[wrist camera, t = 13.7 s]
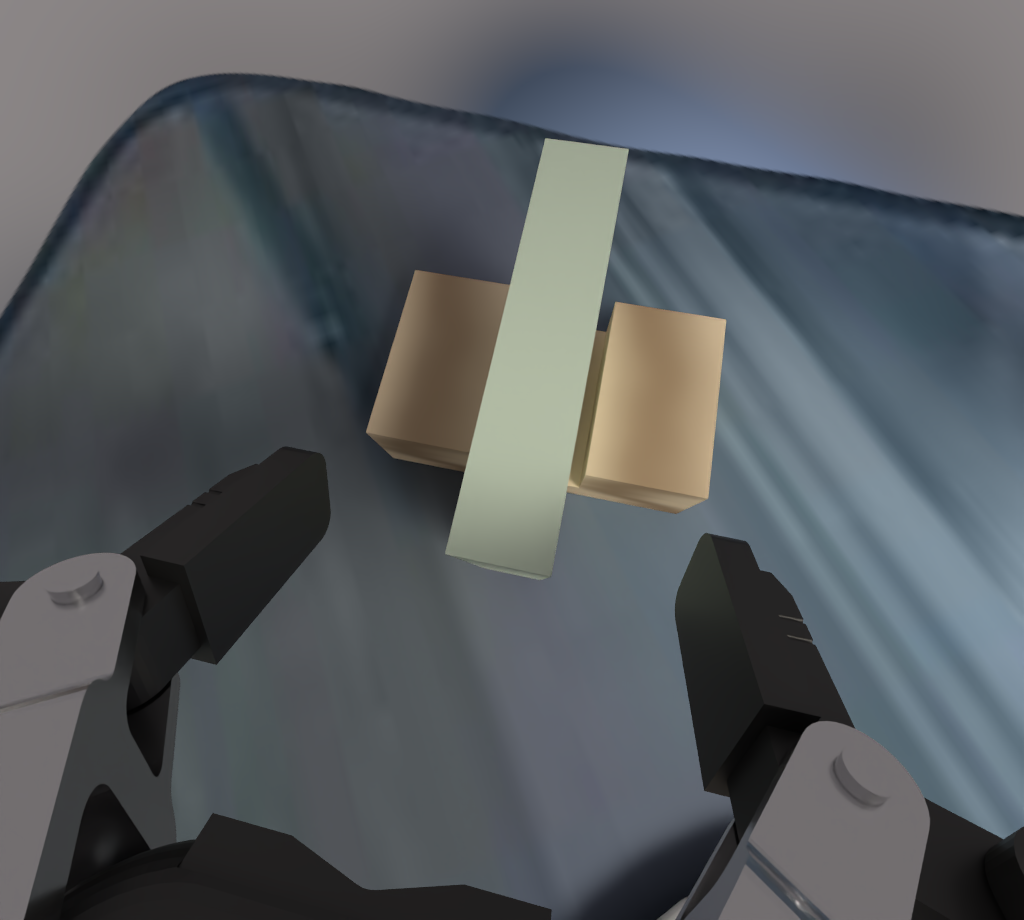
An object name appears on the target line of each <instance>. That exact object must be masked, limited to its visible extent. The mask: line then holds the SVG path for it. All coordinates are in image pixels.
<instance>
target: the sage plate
mask: <svg viewBox="0 0 1024 920" xmlns="http://www.w3.org/2000/svg"><path fill="white" fill-rule="evenodd" d="M628 151H629V149H624V148H616V147H608V146H601V145H593V144H585V143H578V142H570V141H562V140H555V139H547V138H545V142H544V147H543V151H542V155H541V159H540V163H539V167H538V171H537V176H536V180H535V184H534V188H533V192H532V196H531V200H530V204H529V209H528V213H527V217H526V221H525V225H524V229H523V233H522V238H521V242H520V246H519V250H518V254H517V258H516V262H515V267H514V271H513V275H512V279H511V283H510V287H509V291H508V295H507V300H506V304H505V308H504V312H503V316H502V320H501V324H500V329H499V333H498V337H497V341H496V345H495V349H494V353H493V357H492V362H491V366H490V370H489V374H488V378H487V382H486V386H485V391H484V395H483V399H482V403H481V407H480V411H479V415H478V420H477V424H476V428H475V432H474V436H473V440H472V444H471V448H470V453H469V457H468V461H467V465H466V469H465V473H464V477H463V482H462V486H461V490H460V494H459V498H458V502H457V506H456V511H455V515H454V519H453V523H452V527H451V531H450V535H449V539H448V544H447V548H446V552H445V554H446V555H449V556H452V557H455V558H458V559H461V560H463V561H466V562H469V563H472V564H475V565H477V566H480V567H483V568H486V569H491V570H495V571H500V572H504V573H509V574H514V575H518V576H523V577H528V578H532V579H537V580H542V579H545V578H548V577H551V574H552V569H553V563H554V558H555V552H556V547H557V541H558V536H559V530H560V525H561V519H562V514H563V508H564V503H565V497H566V492H567V486H568V481H569V475H570V470H571V464H572V459H573V453H574V448H575V442H576V437H577V431H578V426H579V420H580V415H581V409H582V404H583V398H584V393H585V387H586V382H587V376H588V371H589V365H590V360H591V354H592V349H593V343H594V338H595V332H596V327H597V321H598V316H599V310H600V305H601V299H602V294H603V288H604V283H605V277H606V272H607V267H608V261H609V256H610V250H611V245H612V239H613V234H614V228H615V223H616V217H617V212H618V206H619V201H620V195H621V190H622V184H623V179H624V173H625V168H626V162H627V157H628Z"/></svg>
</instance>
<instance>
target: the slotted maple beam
mask: <svg viewBox="0 0 1024 920" xmlns="http://www.w3.org/2000/svg"><path fill="white" fill-rule="evenodd" d="M509 287H510V285H507V284H500V283H494V282H488V281H482V280H475V279H469V278H463V277H457V276H450V275H444V274H438V273H432V272H425V271H419V270H415V273H414V276H413V280H412V283H411V286H410V289H409V293H408V296H407V299H406V302H405V306H404V309H403V312H402V316H401V319H400V322H399V325H398V329H397V332H396V335H395V339H394V342H393V345H392V348H391V352H390V355H389V358H388V361H387V365H386V368H385V371H384V375H383V378H382V381H381V384H380V388H379V391H378V394H377V398H376V401H375V404H374V407H373V411H372V414H371V417H370V420H369V424H368V427H367V430H366V433H367V434H368V435H369V436H370V437H371V438H372V439H373V440H375V441H376V442H377V443H378V444H379V445H380V446H381V447H382V448H383V449H384V450H385V451H386V452H387V453H389V454H390V455H391V456H392V457H393V458H396V459H401V460H406V461H411V462H416V463H421V464H426V465H432V466H437V467H442V468H447V469H452V470H457V471H462V472H465V469H466V465H467V461H468V457H469V453H470V448H471V444H472V440H473V436H474V432H475V428H476V424H477V420H478V415H479V411H480V407H481V403H482V399H483V395H484V391H485V386H486V382H487V378H488V374H489V370H490V366H491V362H492V357H493V353H494V349H495V345H496V341H497V337H498V333H499V329H500V324H501V320H502V316H503V312H504V308H505V304H506V300H507V295H508V291H509ZM725 327H726V320H725V319H719V318H713V317H707V316H700V315H694V314H688V313H682V312H675V311H669V310H663V309H657V308H650V307H644V306H638V305H632V304H625V303H619V302H615V305H614V308H613V312H612V315H611V318H610V321H609V325H608V328H607V331H606V332H604V331H598V330H596V332H595V338H594V343H593V349H592V354H591V360H590V365H589V371H588V376H587V382H586V387H585V393H584V398H583V404H582V409H581V415H580V420H579V426H578V431H577V437H576V442H575V448H574V453H573V459H572V464H571V470H570V475H569V481H568V486H567V492H568V493H573V494H578V495H583V496H588V497H593V498H598V499H604V500H609V501H614V502H619V503H624V504H629V505H634V506H639V507H644V508H649V509H654V510H659V511H664V512H669V513H674V514H677V513H679V512H681V511H683V510H685V509H687V508H689V507H691V506H694V505H696V504H698V503H700V502H702V501H704V500H706V499H708V494H709V484H710V474H711V464H712V455H713V445H714V435H715V425H716V415H717V406H718V396H719V386H720V376H721V366H722V357H723V347H724V337H725Z"/></svg>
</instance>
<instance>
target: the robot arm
mask: <svg viewBox="0 0 1024 920" xmlns="http://www.w3.org/2000/svg"><path fill="white" fill-rule="evenodd" d="M330 514H331V511H330V500H329V490H328V480H327V470H326V462H325V458H324V457H323V455H322V454H320V453H316V452H311V451H306V450H301V449H296V448H292V447H282V448H280V449H279V450H277V451H276V452H275V453H273V454H272V455H271V456H270V457H268V458H267V459H266V460H264V461H263V462H262V463H260V464H259V465H258V464H254V465H252V466H249V467H247V468H244V469H242V470H240V471H237V472H235V473H232V474H230V475H228V476H227V477H225V478H224V479H223V480H221V481H220V482H219V483H217V484H216V485H214V486H213V487H212V488H210V489H209V492H208V493H206V492H205V493H203V494H202V495H201V496H199V497H198V498H197V499H195V500H194V501H193V502H192V505H187V506H186V507H184V508H183V509H182V510H180V511H179V512H177V513H176V514H175V515H173V516H172V517H171V518H169V519H168V520H166V521H165V522H164V523H162V524H161V525H160V526H158V527H157V528H155V529H154V530H153V531H151V532H150V533H149V534H147V535H146V536H144V537H143V538H142V539H140V540H139V541H138V542H136V543H135V544H133V545H132V546H131V547H129V548H128V549H127V550H125V551H124V552H123V553H121V554H116V553H94V554H87V555H82V556H78V557H74V558H71V559H67V560H64V561H62V562H59V563H57V564H54V565H52V566H50V567H48V568H46V569H44V570H42V571H40V572H39V573H37V574H35V575H34V576H32V577H31V578H29V579H28V580H27V581H16V582H0V920H551V909H548V908H544V907H541V906H537V905H534V904H530V903H527V902H523V901H520V900H516V899H513V898H509V897H506V896H502V895H499V894H495V893H492V892H488V891H485V890H481V889H478V888H474V887H471V886H467V885H450V886H434V887H419V888H404V889H388V890H368V889H364V888H362V887H360V886H358V885H357V884H356V883H354V882H353V881H352V880H350V879H349V878H348V877H346V876H345V875H344V874H342V873H341V872H340V871H338V870H337V869H336V868H334V867H333V866H332V865H330V864H329V863H328V862H326V861H325V860H324V859H322V858H321V857H320V856H318V855H317V854H316V853H314V852H313V851H312V850H310V849H309V848H308V847H306V846H305V845H304V844H302V843H301V842H300V841H298V840H297V839H296V838H294V837H293V836H291V835H288V834H284V833H281V832H277V831H274V830H270V829H267V828H263V827H260V826H256V825H253V824H249V823H246V822H242V821H239V820H235V819H232V818H228V817H225V816H221V815H218V814H214V813H213V814H212V815H211V817H210V818H209V820H208V822H207V823H206V825H205V826H204V828H203V829H202V831H201V832H200V834H199V836H198V837H197V839H196V840H188V841H183V842H178V843H176V824H175V816H174V811H173V806H172V798H171V779H172V768H173V758H174V747H175V736H176V725H177V715H178V704H179V693H180V676H179V673H178V671H179V670H180V669H181V668H182V667H183V666H184V665H185V663H186V662H187V661H188V660H189V659H190V658H192V659H196V660H200V661H204V662H208V663H212V664H216V665H217V664H218V662H219V661H220V660H221V659H222V658H223V656H224V655H225V654H226V653H227V652H228V650H229V649H230V648H231V647H232V646H233V645H234V643H235V642H236V641H237V640H238V639H239V637H240V636H241V635H242V634H243V633H244V631H245V630H246V629H247V628H248V627H249V625H250V624H251V623H252V622H253V621H254V619H255V618H256V617H257V616H258V615H259V613H260V612H261V611H262V610H263V609H264V607H265V606H266V605H267V604H268V603H269V602H270V600H271V599H272V598H273V597H274V596H275V594H276V593H277V592H278V591H279V590H280V588H281V587H282V586H283V585H284V584H285V582H286V581H287V580H288V579H289V578H290V576H291V575H292V574H293V573H294V572H295V570H296V569H297V568H298V567H299V566H300V565H301V563H302V562H303V561H304V560H305V559H306V557H307V556H308V555H309V554H310V553H311V551H312V550H313V549H314V548H315V547H316V545H317V544H318V543H319V542H320V541H321V539H322V538H323V536H324V535H325V533H326V531H327V528H328V525H329V521H330ZM675 620H676V626H677V632H678V638H679V644H680V650H681V655H682V661H683V667H684V673H685V679H686V685H687V691H688V697H689V703H690V709H691V715H692V721H693V727H694V733H695V738H696V744H697V750H698V756H699V762H700V768H701V774H702V780H703V786H704V791H707V792H711V793H715V794H719V795H723V796H727V797H730V799H731V804H732V809H733V814H734V819H733V820H732V821H731V823H730V824H729V825H728V827H727V829H726V830H725V832H724V834H723V836H722V837H721V839H720V841H719V843H718V845H717V846H716V848H715V850H714V852H713V853H712V855H711V857H710V859H709V861H708V862H707V864H706V866H705V868H704V870H703V871H702V873H701V875H700V877H699V878H698V880H697V882H696V884H695V886H694V887H693V889H692V891H691V893H690V894H689V896H688V898H687V900H686V902H685V903H684V905H683V907H682V909H681V910H680V912H679V914H678V916H677V918H676V919H675V920H1024V827H1022V828H1020V829H1019V830H1017V831H1016V832H1014V833H1013V834H1011V835H1010V836H1008V837H1007V838H1005V839H1002V838H1000V837H998V836H996V835H994V834H992V833H990V832H988V831H987V830H985V829H983V828H981V827H979V826H977V825H975V824H973V823H971V822H969V821H967V820H965V819H964V818H962V817H960V816H958V815H956V814H954V813H952V812H950V811H948V810H946V809H944V808H942V807H941V806H939V805H937V804H935V803H933V802H931V801H929V800H928V799H926V798H924V797H923V795H922V793H921V791H920V789H919V787H918V786H917V784H916V783H915V781H914V779H913V778H912V777H911V775H910V774H909V773H908V771H907V770H906V769H905V768H904V767H903V765H902V764H901V763H900V762H899V761H898V760H897V759H896V758H895V757H894V756H893V755H892V754H891V753H890V752H889V751H887V750H886V749H885V748H884V747H883V746H881V745H880V744H879V743H877V742H876V741H875V740H873V739H872V738H870V737H869V736H867V735H866V734H864V733H862V732H860V731H858V730H856V729H855V727H854V725H853V723H852V721H851V719H850V717H849V715H848V713H847V710H846V708H845V706H844V704H843V702H842V700H841V698H840V696H839V694H838V691H837V689H836V687H835V685H834V683H833V681H832V679H831V677H830V675H829V672H828V670H827V668H826V666H825V664H824V662H823V660H822V658H821V656H820V654H819V651H818V649H817V647H816V645H813V644H812V641H813V639H812V637H811V635H810V632H809V630H808V628H807V626H806V624H803V618H802V616H801V613H800V611H799V609H798V607H797V605H796V603H795V601H794V599H793V597H792V595H791V594H790V593H789V592H788V591H787V589H786V588H785V587H784V586H783V585H782V584H781V583H780V582H779V581H778V580H777V579H776V578H775V576H774V575H773V574H772V573H770V572H765V571H760V569H759V567H758V565H757V562H756V560H755V558H754V555H753V553H752V550H751V548H750V546H749V544H748V543H747V542H746V541H743V540H738V539H733V538H728V537H723V536H718V535H713V534H708V533H705V534H704V535H703V536H702V537H701V538H700V540H699V542H698V544H697V547H696V549H695V551H694V554H693V556H692V558H691V561H690V563H689V565H688V568H687V570H686V572H685V575H684V577H683V579H682V581H681V584H680V586H679V589H678V592H677V596H676V603H675Z"/></svg>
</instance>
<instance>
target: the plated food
mask: <svg viewBox="0 0 1024 920" xmlns="http://www.w3.org/2000/svg"><path fill="white" fill-rule="evenodd" d="M687 898H688V897H686V898H684V899H682V900H680V901H679V902H678V903H677V904H676V905H674V906H673V907H672V908H671V909H669V910H668V911H667V912H666V913H664V914H663V915H662V916H661V917H659V918H658V919H657V920H675V919H676V918H677V916H678V914H679V912H680V910H681V909H682V907H683V905H684V903H685V902H686V900H687Z"/></svg>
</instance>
